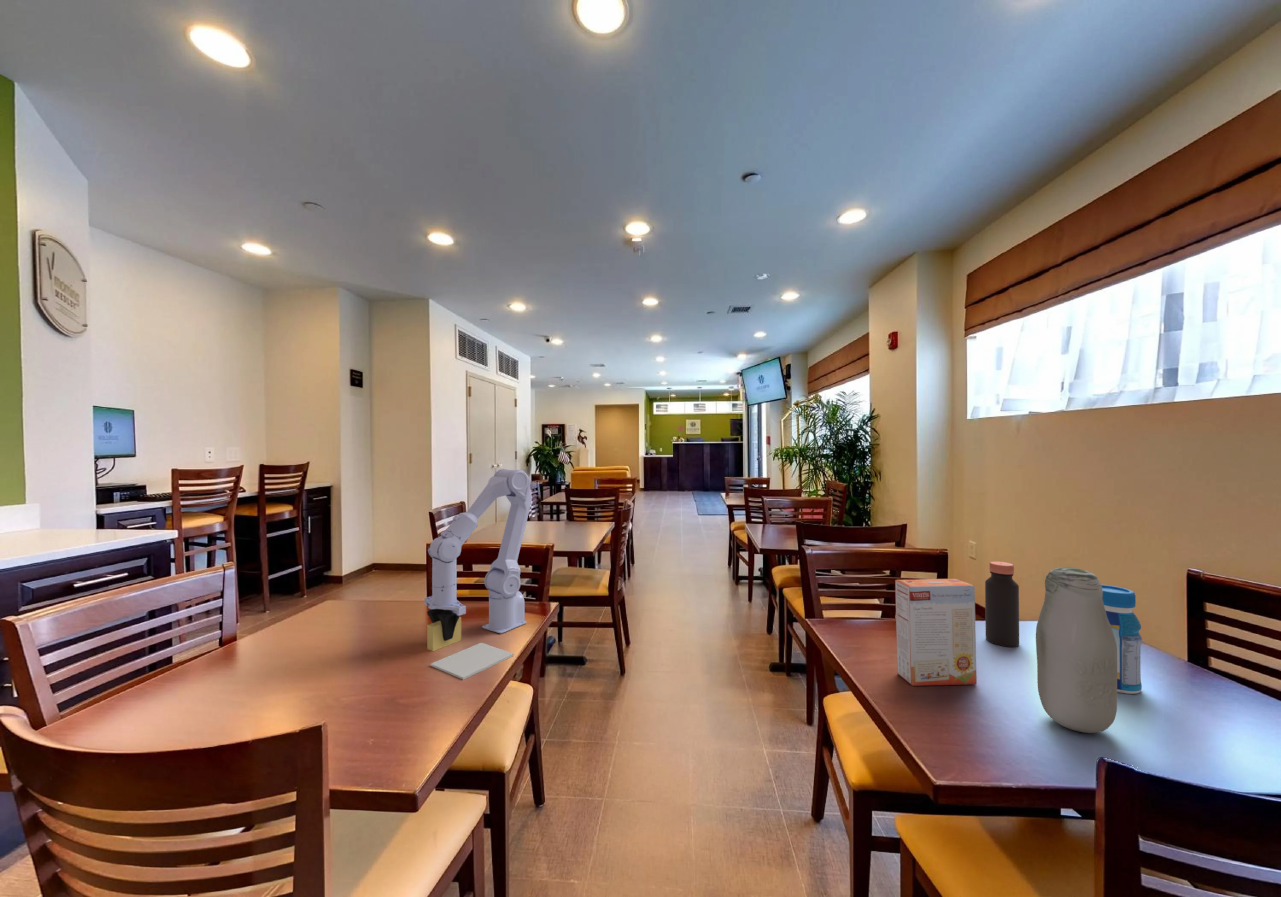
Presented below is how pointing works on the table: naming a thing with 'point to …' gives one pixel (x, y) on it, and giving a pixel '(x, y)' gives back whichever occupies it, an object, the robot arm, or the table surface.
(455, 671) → the mat
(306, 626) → the table surface
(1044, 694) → the grey jar
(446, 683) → the table surface
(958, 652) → the cracker box
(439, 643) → the block
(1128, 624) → the beverage bottle
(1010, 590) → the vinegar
